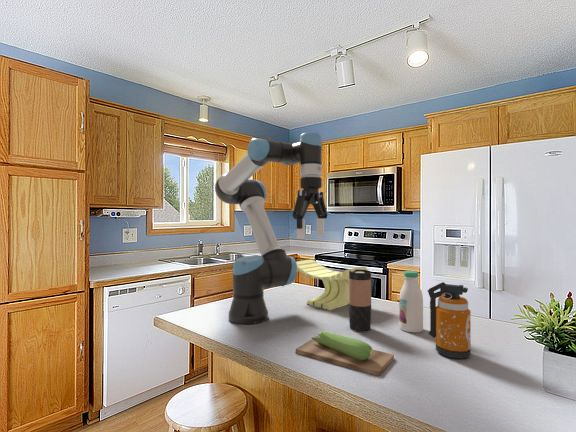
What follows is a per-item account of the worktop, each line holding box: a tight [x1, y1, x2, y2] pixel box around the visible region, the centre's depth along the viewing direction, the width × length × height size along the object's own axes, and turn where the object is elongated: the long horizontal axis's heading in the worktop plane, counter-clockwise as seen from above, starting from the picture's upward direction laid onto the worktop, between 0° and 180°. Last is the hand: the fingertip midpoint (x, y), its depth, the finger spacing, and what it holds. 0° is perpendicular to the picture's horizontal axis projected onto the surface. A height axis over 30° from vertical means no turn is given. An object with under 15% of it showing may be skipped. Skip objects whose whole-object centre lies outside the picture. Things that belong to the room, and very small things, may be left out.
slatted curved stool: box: [296, 259, 368, 311], centre depth 149 cm, size 30×16×18 cm, turn 44°
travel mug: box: [348, 269, 372, 333], centre depth 117 cm, size 8×8×20 cm
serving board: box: [295, 335, 395, 377], centre depth 94 cm, size 24×12×1 cm, turn 56°
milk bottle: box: [398, 270, 424, 333], centre depth 116 cm, size 8×8×20 cm
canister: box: [427, 281, 472, 359], centre depth 96 cm, size 9×11×20 cm
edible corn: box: [311, 329, 373, 360], centre depth 95 cm, size 5×20×5 cm
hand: (311, 237), depth 119 cm, fingers open, 13 cm apart
